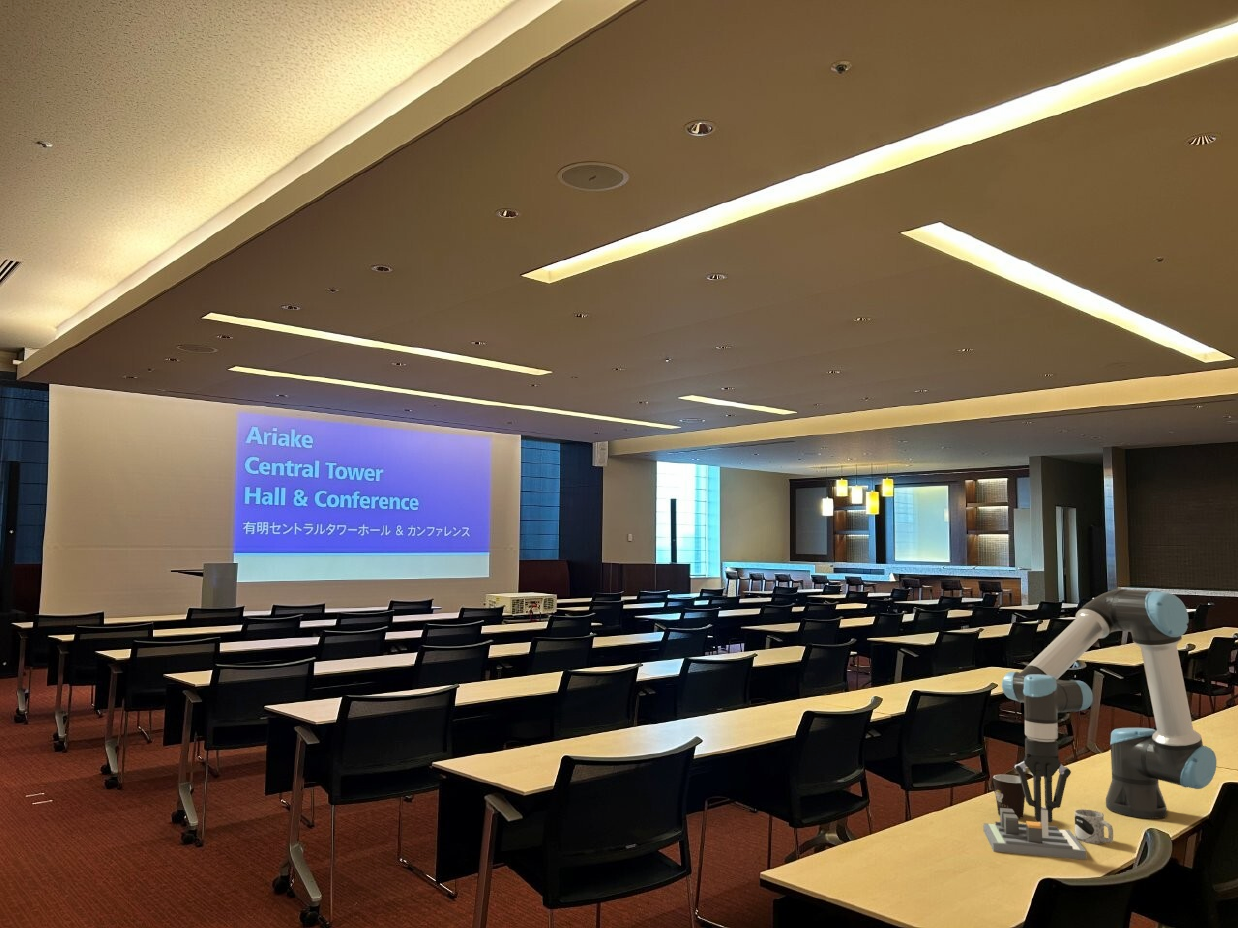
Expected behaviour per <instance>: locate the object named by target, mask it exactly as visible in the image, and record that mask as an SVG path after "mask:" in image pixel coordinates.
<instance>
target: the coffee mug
mask: <svg viewBox="0 0 1238 928" xmlns="http://www.w3.org/2000/svg"><path fill="white" fill-rule="evenodd" d="M990 785H991V788H992V790H993V792H994V794H995V798H996V806H997V813H998V816H1000V808H1008V809H1013V811H1014V812H1015V815H1017V817H1018V820H1019V819H1023V818H1024V811H1025V802H1026V798H1025V795H1024V791H1023V787H1022V784H1021V780H1020V776H1019V775H1012V774H995V775H993V777H992V778H991V779H990Z"/></svg>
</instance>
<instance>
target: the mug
mask: <svg viewBox="0 0 1238 928" xmlns="http://www.w3.org/2000/svg"><path fill="white" fill-rule="evenodd" d="M1105 827H1106V828H1107V830H1108V831H1107V832H1108V836H1107V837H1106V836H1105ZM1074 836H1075V838H1076V839H1077V840H1078V841H1079V842H1081V843H1085V844H1092V845H1101V844H1104V843H1107V844H1111V843H1113V841H1114V829H1113V825H1112V824H1110V823H1109V822H1107V821H1106V820H1104V814H1103V813H1102V812H1100V811H1097V810H1093V809H1084V808H1083V809H1082V808H1081V809H1075V810H1074Z"/></svg>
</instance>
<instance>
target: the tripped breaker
mask: <svg viewBox="0 0 1238 928" xmlns="http://www.w3.org/2000/svg"><path fill="white" fill-rule="evenodd" d="M1025 824H1026V836H1027V841H1028V842H1032V843H1042V826H1041V824H1040V823H1039V822H1037V821H1030V820H1026V821H1025Z"/></svg>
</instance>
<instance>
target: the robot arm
mask: <svg viewBox="0 0 1238 928" xmlns="http://www.w3.org/2000/svg"><path fill="white" fill-rule="evenodd" d="M1188 624H1189V613H1188V611H1187V607H1186V606H1185V604H1184V602H1183V601H1182V600H1181V599H1180V598H1179V597H1178V596H1177V595H1175V594H1173V593H1170V592H1164V591H1160V590H1144V589H1143V590H1141V589H1140V590H1139V589H1126V588H1124V589H1123V588H1120V589H1118V588H1117V589H1113V590H1112V589H1111V590H1109V591H1107V592H1104V593H1102V594H1099V595H1098V596H1095V597H1094V598H1093V599H1091V600H1090V601H1088V602H1086V603H1085V604H1084V605H1083V606H1082V607H1081V608H1079V610H1078V611H1077V612H1076V613H1075V618H1074V620H1073V621H1072V622H1071V623H1069V625H1068V626H1067V627H1066V628H1065V629H1064V630H1063V631H1062V632H1061V633H1060V634H1058V635H1057V636H1056V637H1055V638H1054V639H1053V640H1052V641H1051V642H1050V644H1048V645H1047V647H1045V648H1044V649H1043V650H1042V651H1041V652H1040V653H1039V654H1038V655H1037V656H1036V657H1035V658H1034V659H1033V660H1032V661H1031V662H1030V663H1028V664H1027V665H1026V667H1025V668H1024V669H1023V670H1022V671H1019V672H1018V671H1010V672H1007V673H1006V674H1004V676H1003V678H1002V681H1001V688H1002V692H1003V694H1004V695H1005V696H1006V698H1008V699H1010V700H1013V701H1015V702H1019V703H1023V705H1024V709H1023V710H1024V735H1025V738H1024V747H1025V748H1024V749H1025V750H1024V751H1025V752H1024V753H1025V754H1024V757H1023V761H1021V762H1020V763H1015V764H1013V765H1014V766H1013V767H1014V769H1015V770H1016V772H1017V774H1018V777H1020V780H1021V784H1022V787H1023V791H1024V795H1025V802H1026V803H1027V805H1028V806H1030V807H1033V808H1034V819H1035V820H1034V821H1035V822H1039V823H1040V824H1041V826H1042V837H1048V826H1049V823H1050V824H1052V823H1053V811H1054V809H1056V808H1057V809H1059V808H1061V804H1062V800H1063V796H1064V792H1065V788H1066V783H1067V779H1068V778H1069V776H1070V775H1071V773H1072V771H1071V770H1070V769H1069V768H1068V767H1067V766H1064V765H1063V764H1062V763H1061V760H1060V757H1059V741H1058V740H1057V739H1058V738H1059V729H1058V728H1059V725H1058V714H1059V713H1067V712H1068V713H1070V712H1080V711H1084V710H1087V709H1089V707H1091V705H1092V703H1093V700H1094V699H1093V691H1092V689H1091V687H1090V686H1089V685H1088V684H1087V683H1086V682H1084V681H1081V680H1074V679H1069V680H1062V679H1059V678H1060V677H1061V676H1062V675H1064V674H1065V673H1066V671H1067V670H1069V668H1070V667H1071V666H1072V665H1073V664H1074V663H1076V661H1078V660H1079V659H1080V657H1082V655H1084V654H1085V652H1087V651H1088V650H1089V649H1090V647H1091V646H1093V645H1094V644H1095V643H1096V642H1097V641H1098V639H1105V638H1106V637H1108V636H1109V634H1111V633H1114V632H1119V631H1122V632H1128V633H1129V632H1130V634H1131V638H1132V643H1134V644H1135V645H1136V646H1138V647H1140V651H1141V656H1142V661H1143V666H1144V672H1145V677H1146V682H1147V687H1148V690H1149V696H1150V697H1149V698H1150V702H1151V707H1152V711H1153V717H1154V722H1155V727H1156V729H1154V728H1148V727H1121V728H1115V729H1113V730H1112V731H1111V733H1110V744H1109V745H1110V757H1111V758H1110V760H1111V761H1110V764H1111V782H1110V785H1109V788H1108V792H1107V794H1106V798H1105V807H1106V808H1107V809H1108V811H1109V810H1110V811H1111V812H1114V813H1117V814H1120V815H1124V816H1128V817H1134V818H1142V819H1162V818H1166V817H1167V815H1168V808H1167V804H1166V801H1165V799H1164V797H1163V794H1162V791H1161V789H1160V786H1159V781H1162V782H1164V783H1165V782H1166V783H1170V784H1173V785H1177V786H1181V787H1183V788H1189V789H1195V790H1202V789H1205V788H1206V787H1207V786H1208V785H1210V783H1211V782H1212V780H1213V779H1214V777H1215V775H1216V770H1217V765H1218V763H1217V756H1216V753H1215V752H1214V750H1213V749H1212V748H1210V747H1209V746H1206V745H1204V744H1203V739H1202V735H1201V734H1200V733H1199V732H1198V731H1196V730H1195V729H1194V728H1193V727H1194V726H1193V721H1192V717H1191V712H1190V707H1189V702H1188V701H1189V699H1188V696H1187V691H1186V686H1185V681H1184V676H1183V669H1182V667H1181V661H1180V656H1179V650H1178V644H1179V643H1180V642H1181V641H1182V640H1183V635H1184V634H1185V633H1186V632H1187V629H1188ZM1091 648H1092V647H1091ZM1026 767H1027V769H1028V770H1029V772H1030V773H1031V774H1032V781H1033V796H1032V793H1031V789H1030V786H1029V782H1028V778H1027V776H1026V770H1027V769H1026ZM1057 771H1058V772H1059V773H1058V774H1059V775H1058V777H1057V782H1056V785H1055V786H1056V787H1055V789H1054V791H1055V792H1054V796H1053V776H1054V775H1055V774H1056V772H1057ZM1042 777H1043V780H1044V805H1045V806H1042V785H1041V783H1042Z"/></svg>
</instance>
